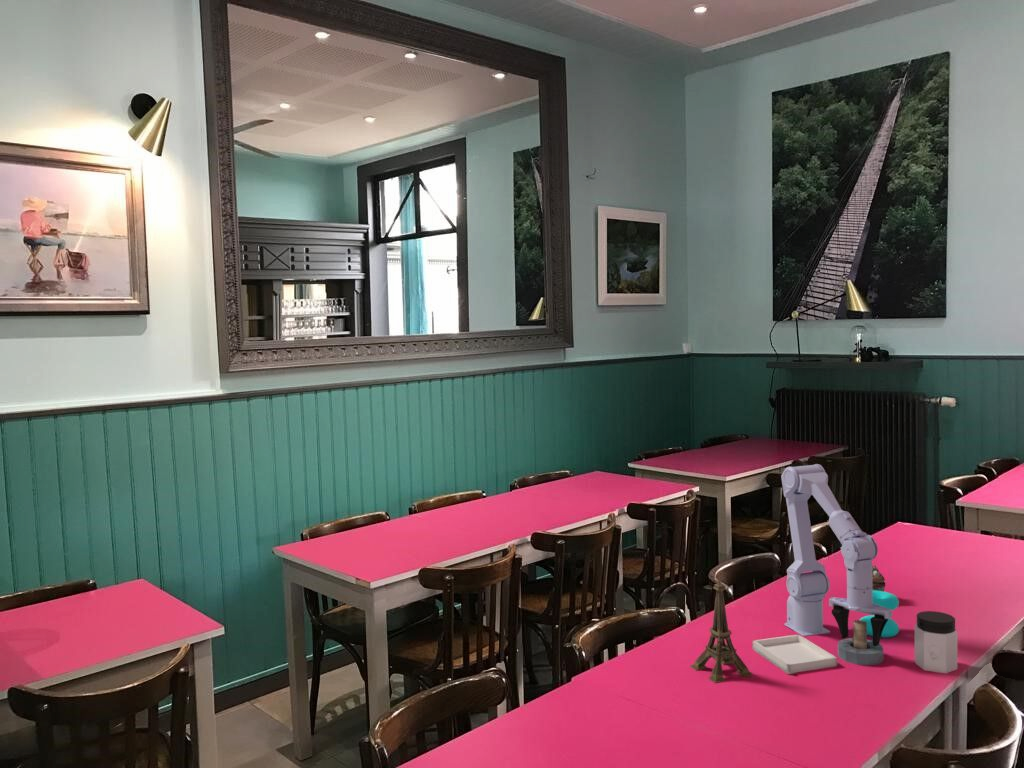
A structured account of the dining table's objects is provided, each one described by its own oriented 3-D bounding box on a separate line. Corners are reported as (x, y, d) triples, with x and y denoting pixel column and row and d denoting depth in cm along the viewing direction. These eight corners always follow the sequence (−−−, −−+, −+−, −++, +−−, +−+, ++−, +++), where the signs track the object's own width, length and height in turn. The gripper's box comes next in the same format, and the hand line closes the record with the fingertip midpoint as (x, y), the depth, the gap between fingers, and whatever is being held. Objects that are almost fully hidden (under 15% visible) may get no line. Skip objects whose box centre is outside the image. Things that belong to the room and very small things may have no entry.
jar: (913, 669, 194) (913, 619, 194) (916, 657, 201) (915, 608, 201) (956, 676, 190) (956, 625, 189) (958, 663, 197) (957, 613, 196)
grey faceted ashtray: (829, 652, 206) (829, 641, 206) (864, 647, 208) (864, 636, 208) (855, 668, 196) (855, 656, 196) (892, 662, 199) (892, 650, 198)
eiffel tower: (689, 666, 201) (687, 565, 199) (726, 659, 205) (724, 559, 203) (715, 683, 191) (712, 576, 189) (753, 675, 195) (751, 570, 193)
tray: (752, 649, 210) (752, 640, 210) (798, 643, 213) (798, 634, 213) (788, 674, 194) (788, 664, 194) (837, 667, 197) (837, 657, 197)
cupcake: (878, 594, 248) (878, 561, 248) (890, 605, 239) (889, 570, 238) (845, 594, 249) (845, 561, 249) (855, 605, 240) (855, 570, 239)
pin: (850, 655, 203) (850, 621, 203) (861, 653, 204) (861, 619, 203) (858, 659, 200) (858, 625, 200) (869, 658, 201) (869, 623, 201)
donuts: (853, 588, 224) (893, 589, 222) (854, 624, 224) (893, 626, 222) (861, 600, 214) (903, 601, 212) (861, 638, 215) (903, 640, 213)
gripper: (823, 584, 204) (823, 638, 204) (883, 596, 193) (883, 653, 194) (836, 577, 208) (836, 630, 209) (895, 588, 198) (895, 644, 199)
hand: (860, 641), depth 202 cm, fingers open, 7 cm apart
